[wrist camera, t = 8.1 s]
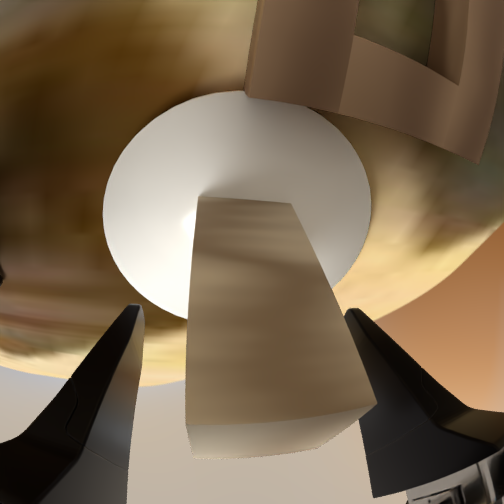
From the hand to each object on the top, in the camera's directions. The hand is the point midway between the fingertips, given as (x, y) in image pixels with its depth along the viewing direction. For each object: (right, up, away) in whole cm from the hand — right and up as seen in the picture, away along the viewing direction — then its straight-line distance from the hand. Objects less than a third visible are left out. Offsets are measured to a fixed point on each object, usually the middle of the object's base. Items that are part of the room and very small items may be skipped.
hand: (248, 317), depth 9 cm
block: (0, +3, +4) cm, 5 cm away
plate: (0, +3, +4) cm, 6 cm away
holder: (+6, +13, -2) cm, 14 cm away
